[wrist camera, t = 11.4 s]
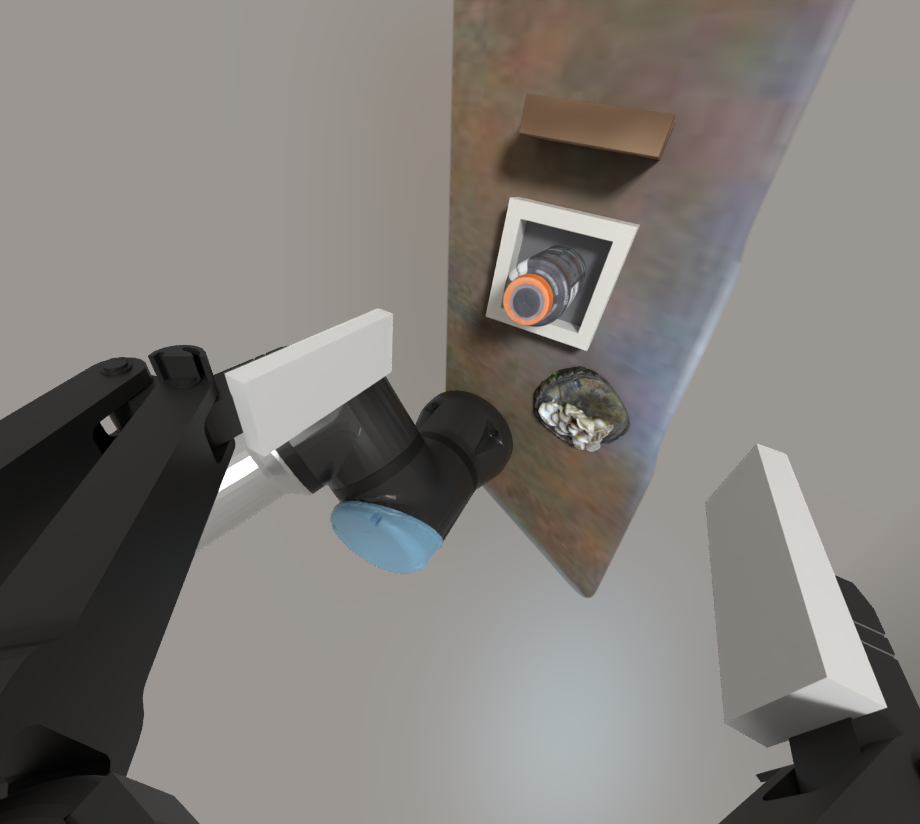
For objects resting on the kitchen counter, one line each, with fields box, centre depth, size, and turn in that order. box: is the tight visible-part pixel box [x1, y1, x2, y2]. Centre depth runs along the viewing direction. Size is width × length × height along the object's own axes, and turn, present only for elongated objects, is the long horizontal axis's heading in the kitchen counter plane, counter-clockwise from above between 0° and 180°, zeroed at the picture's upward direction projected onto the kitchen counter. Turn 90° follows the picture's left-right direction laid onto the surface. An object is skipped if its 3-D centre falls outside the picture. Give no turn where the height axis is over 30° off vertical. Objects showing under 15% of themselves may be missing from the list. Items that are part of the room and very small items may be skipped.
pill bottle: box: [503, 245, 587, 327], centre depth 33 cm, size 6×6×11 cm
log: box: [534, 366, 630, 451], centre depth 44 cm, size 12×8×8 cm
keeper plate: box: [486, 197, 640, 351], centre depth 37 cm, size 12×12×2 cm
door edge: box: [519, 94, 675, 160], centre depth 29 cm, size 2×11×5 cm, turn 80°
